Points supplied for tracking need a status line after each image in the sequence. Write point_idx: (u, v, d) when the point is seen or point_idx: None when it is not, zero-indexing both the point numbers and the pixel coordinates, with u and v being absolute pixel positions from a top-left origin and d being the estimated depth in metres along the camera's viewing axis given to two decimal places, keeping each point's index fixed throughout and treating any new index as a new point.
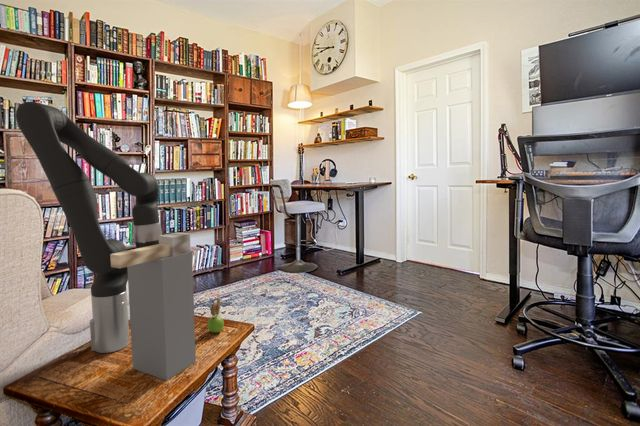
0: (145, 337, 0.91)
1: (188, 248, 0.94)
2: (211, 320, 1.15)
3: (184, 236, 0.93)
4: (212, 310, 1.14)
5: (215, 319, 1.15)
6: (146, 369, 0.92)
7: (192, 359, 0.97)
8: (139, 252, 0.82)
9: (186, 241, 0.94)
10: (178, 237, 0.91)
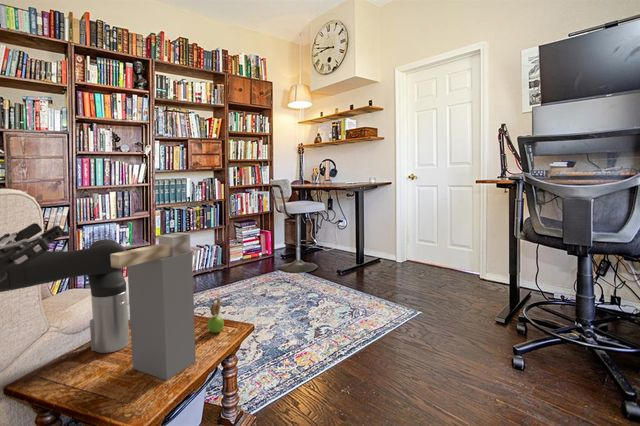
0: (145, 337, 0.91)
1: (188, 248, 0.94)
2: (211, 320, 1.15)
3: (184, 236, 0.93)
4: (212, 310, 1.14)
5: (215, 319, 1.15)
6: (146, 369, 0.92)
7: (192, 359, 0.97)
8: (139, 252, 0.82)
9: (186, 241, 0.94)
10: (178, 237, 0.91)
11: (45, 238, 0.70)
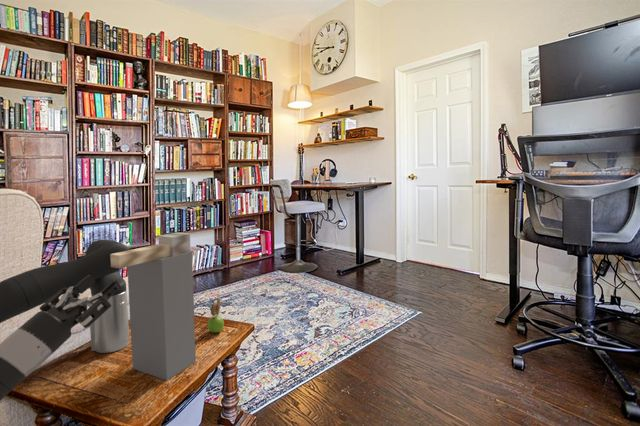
0: (145, 337, 0.91)
1: (188, 248, 0.94)
2: (211, 320, 1.15)
3: (184, 236, 0.93)
4: (212, 310, 1.14)
5: (215, 319, 1.15)
6: (146, 369, 0.92)
7: (192, 359, 0.97)
8: (139, 252, 0.82)
9: (186, 241, 0.94)
10: (178, 237, 0.91)
11: (105, 295, 0.71)
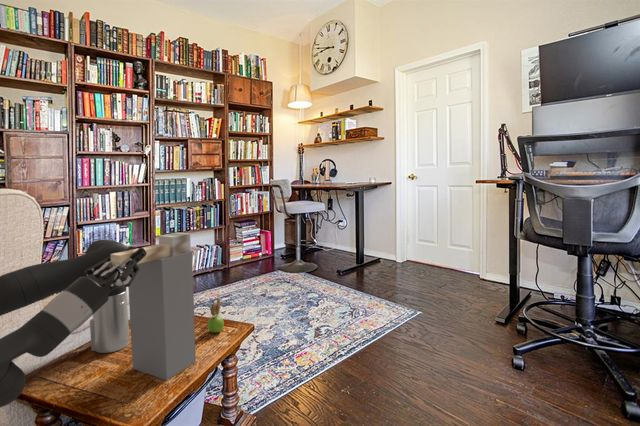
0: (145, 337, 0.91)
1: (188, 248, 0.94)
2: (211, 320, 1.15)
3: (184, 236, 0.93)
4: (212, 310, 1.14)
5: (215, 319, 1.15)
6: (146, 369, 0.92)
7: (192, 359, 0.97)
8: None
9: (186, 241, 0.94)
10: (178, 237, 0.91)
11: (134, 260, 0.79)
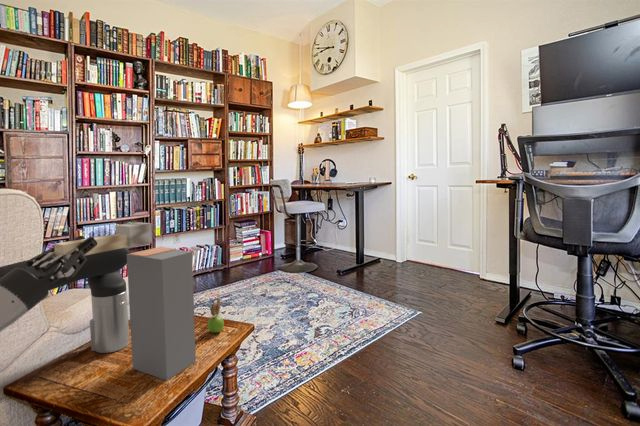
0: (145, 337, 0.91)
1: (149, 239, 0.86)
2: (211, 320, 1.15)
3: (144, 226, 0.85)
4: (212, 310, 1.14)
5: (215, 319, 1.15)
6: (146, 369, 0.92)
7: (192, 359, 0.97)
8: None
9: (147, 231, 0.86)
10: (137, 227, 0.83)
11: (81, 250, 0.71)
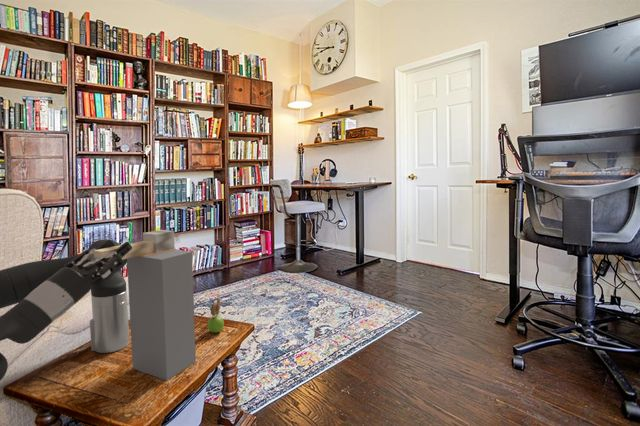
0: (145, 337, 0.91)
1: (172, 245, 0.97)
2: (211, 320, 1.15)
3: (168, 233, 0.95)
4: (212, 310, 1.14)
5: (215, 319, 1.15)
6: (146, 369, 0.92)
7: (192, 359, 0.97)
8: None
9: (170, 238, 0.96)
10: (162, 234, 0.93)
11: (119, 254, 0.81)
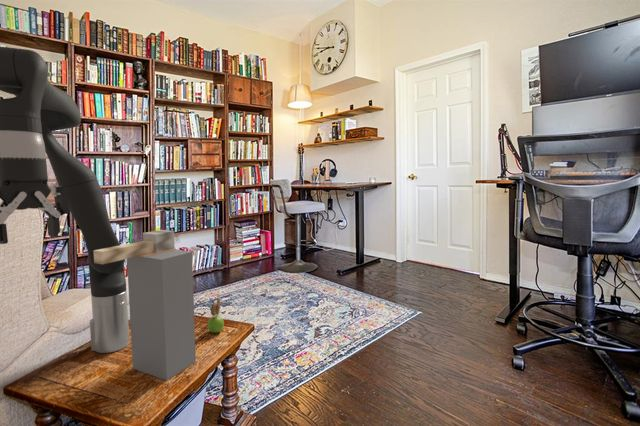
0: (145, 337, 0.91)
1: (172, 245, 0.97)
2: (211, 320, 1.15)
3: (168, 233, 0.95)
4: (212, 310, 1.14)
5: (215, 319, 1.15)
6: (146, 369, 0.92)
7: (192, 359, 0.97)
8: (122, 248, 0.84)
9: (170, 238, 0.96)
10: (162, 234, 0.93)
11: None
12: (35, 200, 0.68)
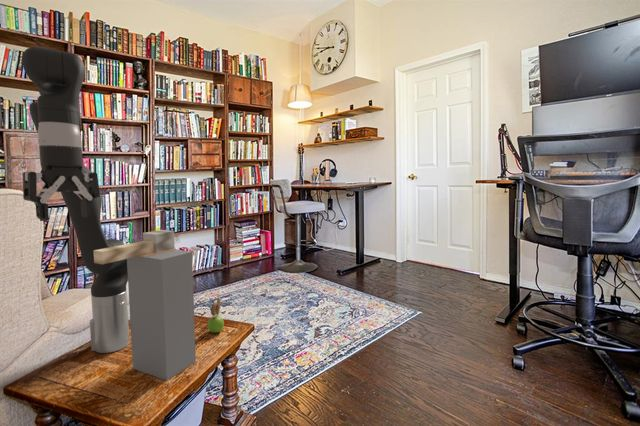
0: (145, 337, 0.91)
1: (172, 245, 0.97)
2: (211, 320, 1.15)
3: (168, 233, 0.95)
4: (212, 310, 1.14)
5: (215, 319, 1.15)
6: (146, 369, 0.92)
7: (192, 359, 0.97)
8: (122, 248, 0.84)
9: (170, 238, 0.96)
10: (162, 234, 0.93)
11: (38, 203, 0.72)
12: (72, 184, 0.77)
